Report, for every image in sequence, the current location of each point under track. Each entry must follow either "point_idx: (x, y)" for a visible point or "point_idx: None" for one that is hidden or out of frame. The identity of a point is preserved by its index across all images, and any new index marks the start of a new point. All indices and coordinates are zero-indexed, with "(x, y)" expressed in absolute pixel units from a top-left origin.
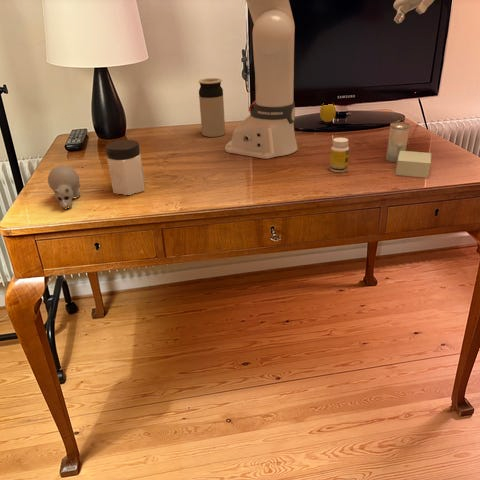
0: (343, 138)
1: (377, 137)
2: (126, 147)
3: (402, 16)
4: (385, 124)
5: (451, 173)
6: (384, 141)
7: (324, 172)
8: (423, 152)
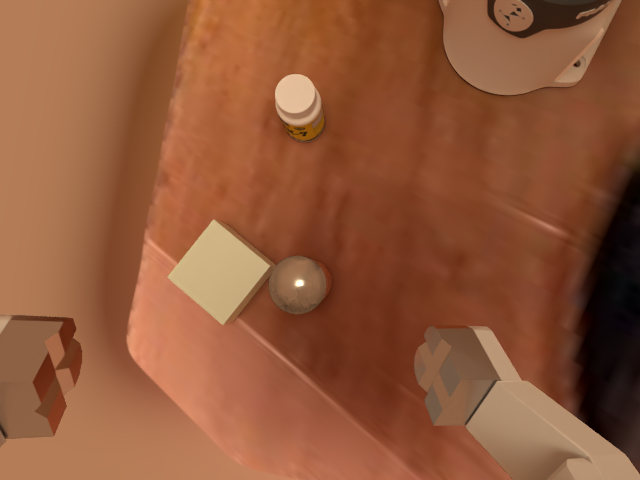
0: (301, 104)
1: None
2: None
3: (438, 397)
4: None
5: (183, 341)
6: None
7: None
8: (234, 310)
